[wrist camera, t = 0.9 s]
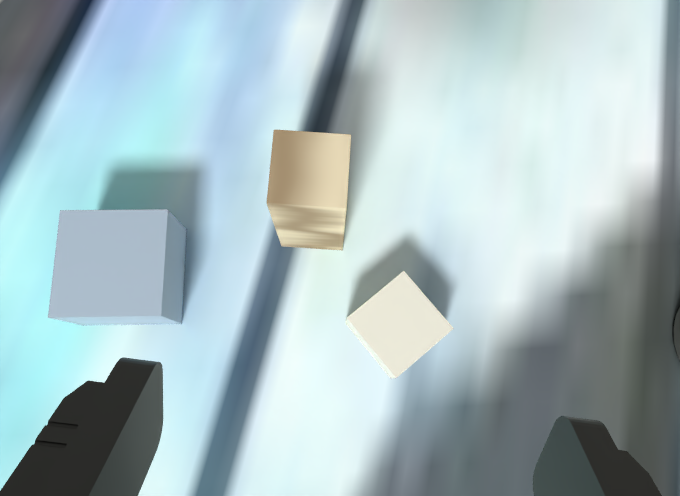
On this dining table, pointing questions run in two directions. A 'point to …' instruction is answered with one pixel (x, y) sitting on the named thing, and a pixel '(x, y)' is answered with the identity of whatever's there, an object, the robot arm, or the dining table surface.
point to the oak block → (309, 188)
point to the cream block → (398, 325)
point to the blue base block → (118, 267)
